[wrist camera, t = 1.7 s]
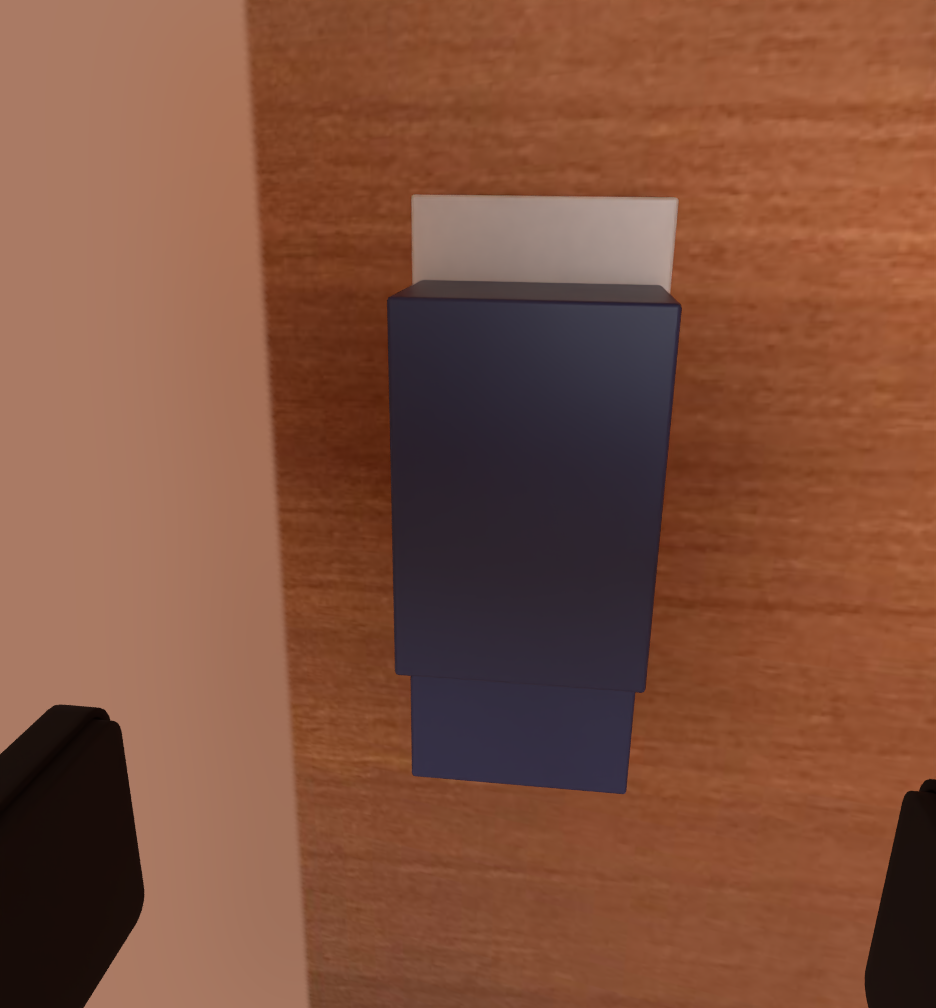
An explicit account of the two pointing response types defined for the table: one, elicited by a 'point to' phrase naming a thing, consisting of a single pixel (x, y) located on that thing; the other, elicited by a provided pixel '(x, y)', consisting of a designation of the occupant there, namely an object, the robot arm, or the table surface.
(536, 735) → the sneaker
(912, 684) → the table surface
